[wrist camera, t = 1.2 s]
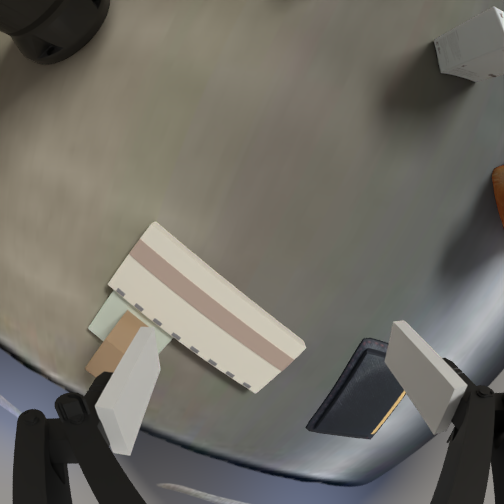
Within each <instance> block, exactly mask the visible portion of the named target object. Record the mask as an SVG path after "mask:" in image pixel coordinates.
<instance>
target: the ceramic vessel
mask: <svg viewBox="0 0 504 504" xmlns="http://www.w3.org/2000/svg"><path fill="white" fill-rule="evenodd" d="M492 181H493V188H494V194H495V200H496V204H497V208H498V212H499V215H500V218H501V221H502V224H503V228H504V165H502V166H498V167H496V168H495V169H494V170H493V173H492Z"/></svg>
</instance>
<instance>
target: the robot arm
mask: <svg viewBox="0 0 504 504" xmlns="http://www.w3.org/2000/svg"><path fill="white" fill-rule="evenodd" d="M109 5H110V0H0V31H1V32H3V33H6V34H8V35H10V36H11V38H12V39H13V41H14V42H15V44H16V45H17V47H18V48H19V50H20V51H21V53H22V54H23V55H24V56H25V57H26V58H28V59H30V60H32V61H34V62H36V63H39V64H52V63H56V62H59V61H61V60H64V59H66V58H68V57H69V56H71V55H73V54H74V53H75V52H77V51H78V50H79V49H81V48H82V47H83V46H84V45H85V44H86V43H87V42H88V41H89V40H90V39H91V38H92V37H93V36H94V35H95V33H96V32H97V31H98V29H99V28H100V27H101V25H102V23H103V21H104V20H105V17H106V15H107V13H108V9H109ZM384 362H385V363H386V365H387V366H388V368H389V369H390V371H391V372H392V373H393V375H394V376H395V378H396V379H397V381H398V382H399V384H400V385H401V386H402V388H403V389H404V391H405V392H406V394H407V395H408V397H409V398H410V400H411V401H412V402H413V404H414V405H415V407H416V408H417V410H418V411H419V413H420V414H421V416H422V417H423V419H424V420H425V422H426V423H427V425H428V426H429V428H430V429H431V431H432V432H433V434H434V435H435V434H438V433H441V432H444V431H447V429H448V427H449V425H450V423H451V421H452V423H453V424H454V425H455V427H454V429H453V431H452V433H451V435H450V437H449V439H448V440H447V443H448V442H449V441H450V443H449V447H448V451H447V454H446V458H445V461H444V465H443V468H442V471H441V474H440V478H439V481H438V484H437V487H436V490H435V492H434V495H433V498H432V501H431V503H430V504H483V502H484V498H485V492H486V487H487V482H488V475H489V469H490V462H491V466H492V474H493V482H494V493H495V504H504V393H494V392H493V390H492V389H490V388H489V387H486V386H481V385H479V386H476V385H475V384H474V383H473V382H472V381H471V380H470V379H469V378H468V377H467V376H466V375H465V374H464V373H462V371H461V370H460V369H458V367H457V366H456V365H455V364H454V363H453V362H452V361H450V360H448V359H446V358H441V357H440V356H439V355H438V354H437V353H436V352H435V351H434V350H433V349H432V348H431V347H430V346H429V345H428V343H427V342H426V341H425V340H424V339H423V338H422V337H421V336H420V335H419V334H418V333H417V332H416V331H415V330H414V329H412V328H411V327H410V326H409V325H408V324H407V323H406V322H405V321H394V322H393V325H392V330H391V335H390V339H389V344H388V349H387V353H386V357H385V361H384ZM160 370H161V369H160V363H159V357H158V350H157V343H156V337H155V329H154V327H140V329H139V330H138V332H137V334H136V335H135V337H134V339H133V340H132V342H131V344H130V345H129V347H128V349H127V350H126V352H125V354H124V356H123V357H122V359H121V361H120V362H119V364H118V366H117V368H116V369H115V371H114V372H105V371H104V372H103V373H101V374H100V375H99V376H97V377H96V379H95V380H94V382H93V383H92V385H91V387H90V388H89V391H87V393H86V395H85V396H84V397H83V395H81V394H79V393H73V392H71V393H66V394H63V395H61V396H60V397H58V398H57V400H56V402H55V409H56V411H57V413H58V415H59V418H57V419H46V418H45V415H44V414H43V413H42V412H41V411H39V410H36V409H31V410H27V411H25V412H23V413H22V414H21V415H20V416H19V418H18V421H17V431H16V439H15V450H14V464H13V465H14V466H13V504H72V498H71V492H70V485H69V477H68V468H67V463H79V465H80V467H81V469H82V471H83V474H84V476H85V478H86V479H87V482H88V484H89V485H90V487H91V489H92V491H93V493H94V495H95V497H96V499H97V500H98V502H99V504H146V503H145V501H144V500H143V498H142V497H141V496H140V494H139V493H138V491H137V490H136V489H135V487H134V486H133V484H132V483H131V481H130V480H129V479H128V477H127V475H126V474H125V472H124V471H123V469H122V468H121V466H120V464H119V463H118V461H117V460H116V458H115V456H114V455H113V453H118V454H123V455H129V456H130V454H131V452H132V449H133V445H134V443H135V440H136V437H137V434H138V431H139V428H140V425H141V422H142V419H143V417H144V414H145V411H146V408H147V405H148V403H149V400H150V397H151V394H152V392H153V389H154V386H155V383H156V381H157V378H158V375H159V373H160ZM109 445H110V446H111V449H112V451H113V453H112V452H111V450H110V448H109Z"/></svg>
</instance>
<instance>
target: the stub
mask: <svg viewBox="0 0 504 504" xmlns="http://www.w3.org/2000/svg"><path fill="white" fill-rule="evenodd" d="M140 327H154V329H155V337H156V343H157V350H158V354H159V353H160V352H161V351H162V350H163V349H164V347H165V346H166V345H167V344H168V343H169V342H170V341H171V340H172V339H173V337H172V336H171V335H170V334H168V333H167V332H166V331H164V330H163V329H162V328H160V327H159V326H158V325H156V324H155V323H154V322H153V321H151V320H150V319H149V318H148V317H146V316H145V315H144V314H143V313H141V312H140V311H139V310H138V309H136V308H135V307H134V306H133V305H131V304H130V303H129V302H128V301H127V300H125V299H124V298H123V297H122V296H121V295H119V294H118V293H117V292H116V291H115V290H113V292H112V293H111V295H110V296H109V298H108V299H107V300H106V302H105V303H104V305H103V306H102V308H101V309H100V311H99V312H98V314H97V315H96V317H95V318H94V320H93V321H92V323H91V324H90V326H89V327H88V329H89V330H90V331H91V332H93V333H94V334H95V335H96V336H97V337H99V338H100V339H101V340H102V341H104V342H103V343H102V344H101V346H100V347H99V349H98V350H97V351H96V353H95V354H94V356H93V357H92V359H91V360H90V361H89V363H88V364H87V366H86V367H85V369H86V370H87V371H88V372H90V373H91V374H92V375H93V376H95V377H97V376H99V375H100V374H101V373H103V372H104V371H105V372H114V371H115V369H116V368H117V366H118V364H119V362H120V361H121V359H122V357H123V356H124V354H125V352H126V350H127V349H128V347H129V345H130V344H131V342H132V340H133V339H134V337H135V335H136V334H137V332H138V330H139V329H140Z"/></svg>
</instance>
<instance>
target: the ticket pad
mask: <svg viewBox="0 0 504 504" xmlns="http://www.w3.org/2000/svg"><path fill="white" fill-rule="evenodd" d="M108 285H109V286H110V287H111V288H112V289H113V290H115V291H116V292H117V293H118V294H119V295H121V296H122V297H123V298H124V299H125V300H127V301H128V302H129V303H130V304H131V305H133V306H134V307H135V308H136V309H138V310H139V311H140V312H141V313H143V314H144V315H145V316H146V317H148V318H149V319H150V320H151V321H153V322H154V323H155V324H156V325H158V326H159V327H160V328H162V329H163V330H164V331H166V332H167V333H168V334H170V335H171V336H172V337H174V338H175V339H176V340H178V341H179V342H180V343H182V344H183V345H184V346H186V347H187V348H189V349H190V350H191V351H193V352H194V353H196V354H197V355H198V356H200V357H201V358H203V359H204V360H205V361H207V362H208V363H210V364H211V365H213V366H214V367H216V368H217V369H219V370H220V371H222V372H223V373H225V374H226V375H228V376H229V377H231V378H232V379H234V380H235V381H237V382H238V383H240V384H241V385H243V386H244V387H246V388H248V389H249V390H251V391H252V392H254V393H257V392H258V391H259V390H260V389H262V388H263V387H264V386H265V385H266V384H267V383H269V382H270V381H271V380H272V379H273V378H274V377H275V376H277V375H278V374H279V373H280V372H281V371H283V370H284V369H285V368H286V367H287V366H288V365H289V364H290V363H292V362H293V361H294V359H295V358H296V357H298V356H299V355H300V354H301V353H302V352H303V351H304V350H305V349H306V346H305V343H304V341H303V340H302V339H301V338H299V337H298V336H297V335H295V334H294V333H293V332H291V331H290V330H289V329H288V328H286V327H285V326H284V325H282V324H281V323H280V322H279V321H277V320H276V319H275V318H273V317H272V316H271V315H270V314H268V313H267V312H266V311H265V310H263V309H262V308H261V307H259V306H258V305H257V304H256V303H254V302H253V301H252V300H251V299H249V298H248V297H247V296H246V295H244V294H243V293H242V292H241V291H239V290H238V289H237V288H236V287H234V286H233V285H232V284H231V283H229V282H228V281H227V280H226V279H225V278H223V277H222V276H221V275H220V274H218V273H217V272H216V271H215V270H213V269H212V268H211V267H210V266H209V265H207V264H206V263H205V262H204V261H202V260H201V259H200V258H199V257H198V256H196V255H195V254H194V253H193V252H192V251H190V250H189V249H188V248H187V247H186V246H184V245H183V244H182V243H181V242H180V241H178V240H177V239H176V238H175V237H174V236H173V235H171V234H170V233H169V232H168V231H167V230H165V229H164V228H163V227H162V226H161V225H160V224H158V223H157V222H156V221H155V222H154V223H152V224H151V225H150V226H149V227H148V229H147V230H146V231H145V233H144V234H143V235H142V237H141V238H140V239H139V241H138V242H137V243H136V245H135V246H134V247H133V249H132V250H131V252H130V253H129V254H128V256H127V257H126V259H125V260H124V261H123V263H122V264H121V266H120V267H119V269H118V270H117V271H116V273H115V274H114V276H113V277H112V279H111V280H110V282H109V283H108Z"/></svg>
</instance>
